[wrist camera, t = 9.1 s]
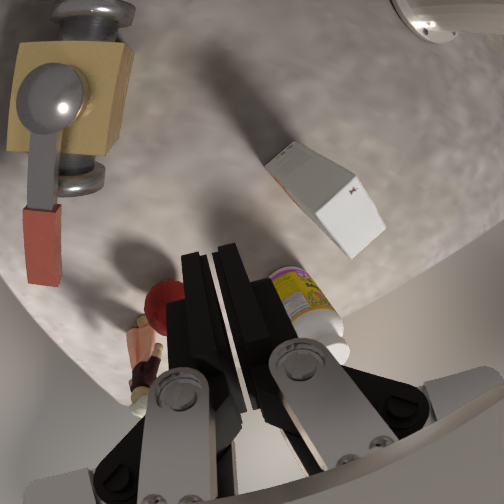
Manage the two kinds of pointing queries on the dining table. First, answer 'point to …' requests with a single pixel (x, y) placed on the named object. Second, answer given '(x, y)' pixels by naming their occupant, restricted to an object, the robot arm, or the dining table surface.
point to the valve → (99, 84)
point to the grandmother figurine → (142, 363)
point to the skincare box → (328, 197)
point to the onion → (161, 303)
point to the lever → (47, 161)
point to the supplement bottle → (310, 310)
